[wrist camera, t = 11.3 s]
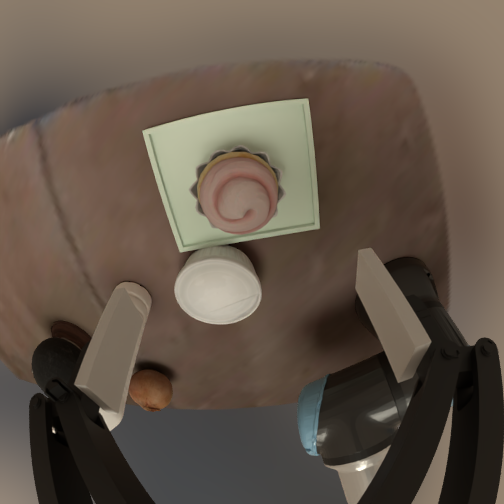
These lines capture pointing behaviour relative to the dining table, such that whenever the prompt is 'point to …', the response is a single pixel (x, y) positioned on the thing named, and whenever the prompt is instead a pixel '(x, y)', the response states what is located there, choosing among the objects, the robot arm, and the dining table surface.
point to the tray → (226, 138)
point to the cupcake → (238, 190)
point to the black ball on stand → (58, 353)
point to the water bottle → (143, 306)
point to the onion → (150, 389)
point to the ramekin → (218, 285)
